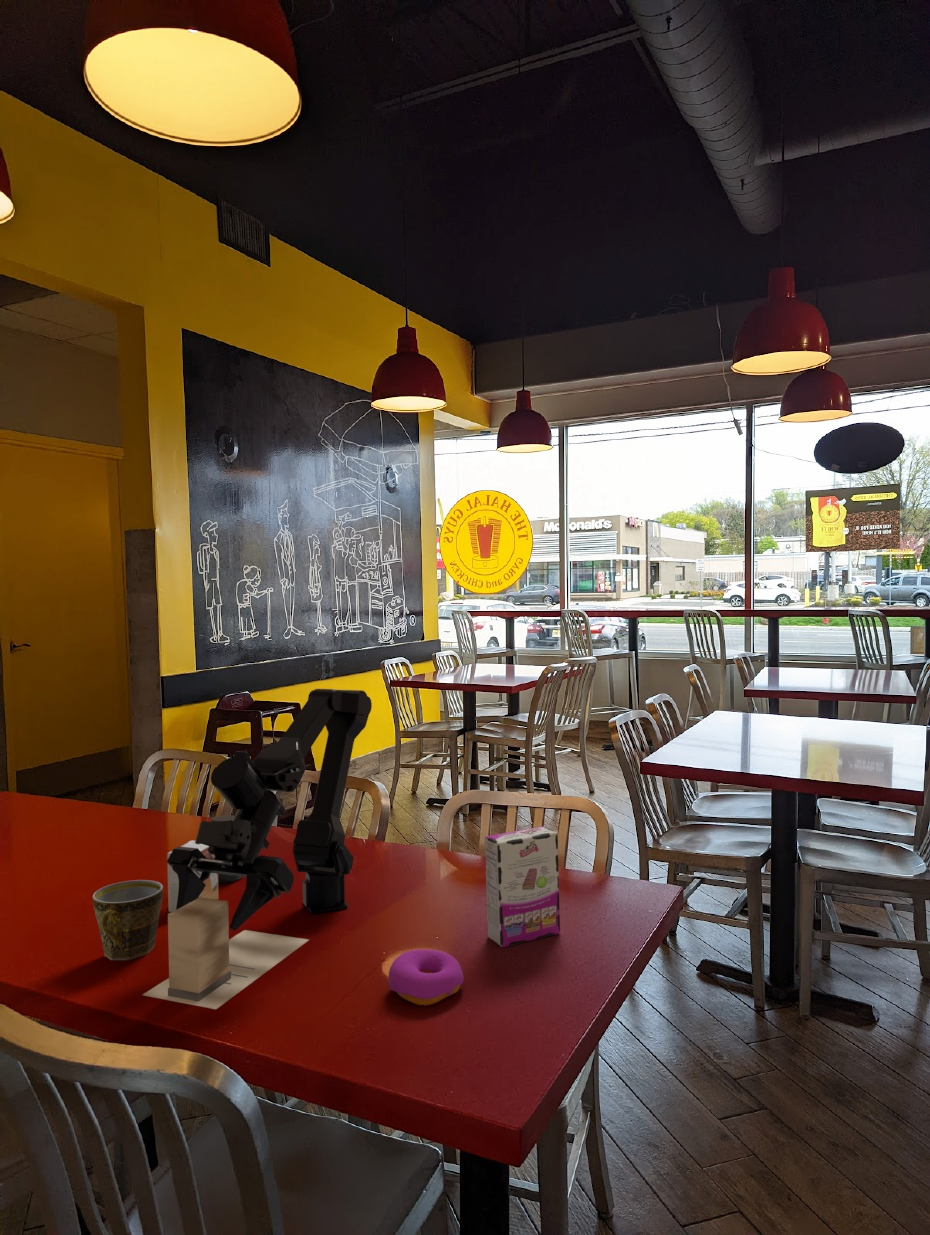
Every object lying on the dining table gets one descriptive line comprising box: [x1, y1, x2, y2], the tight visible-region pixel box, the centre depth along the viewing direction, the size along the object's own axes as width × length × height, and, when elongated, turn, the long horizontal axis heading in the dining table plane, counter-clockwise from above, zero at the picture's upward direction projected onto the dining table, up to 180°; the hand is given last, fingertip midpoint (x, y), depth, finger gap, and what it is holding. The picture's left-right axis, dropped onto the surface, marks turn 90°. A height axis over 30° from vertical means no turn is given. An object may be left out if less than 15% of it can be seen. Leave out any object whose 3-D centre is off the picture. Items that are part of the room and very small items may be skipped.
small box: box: [166, 840, 219, 913], centre depth 145 cm, size 8×6×10 cm
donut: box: [388, 948, 464, 1007], centre depth 112 cm, size 10×10×4 cm
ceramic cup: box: [92, 879, 164, 961], centre depth 123 cm, size 13×10×10 cm
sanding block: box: [167, 897, 231, 1002], centre depth 112 cm, size 7×5×11 cm
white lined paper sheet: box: [142, 929, 310, 1010], centre depth 118 cm, size 23×12×1 cm, turn 160°
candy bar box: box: [484, 826, 561, 948], centre depth 129 cm, size 11×5×16 cm, turn 117°
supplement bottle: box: [210, 814, 242, 885], centre depth 159 cm, size 7×7×12 cm
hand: (204, 925), depth 113 cm, fingers open, 9 cm apart
